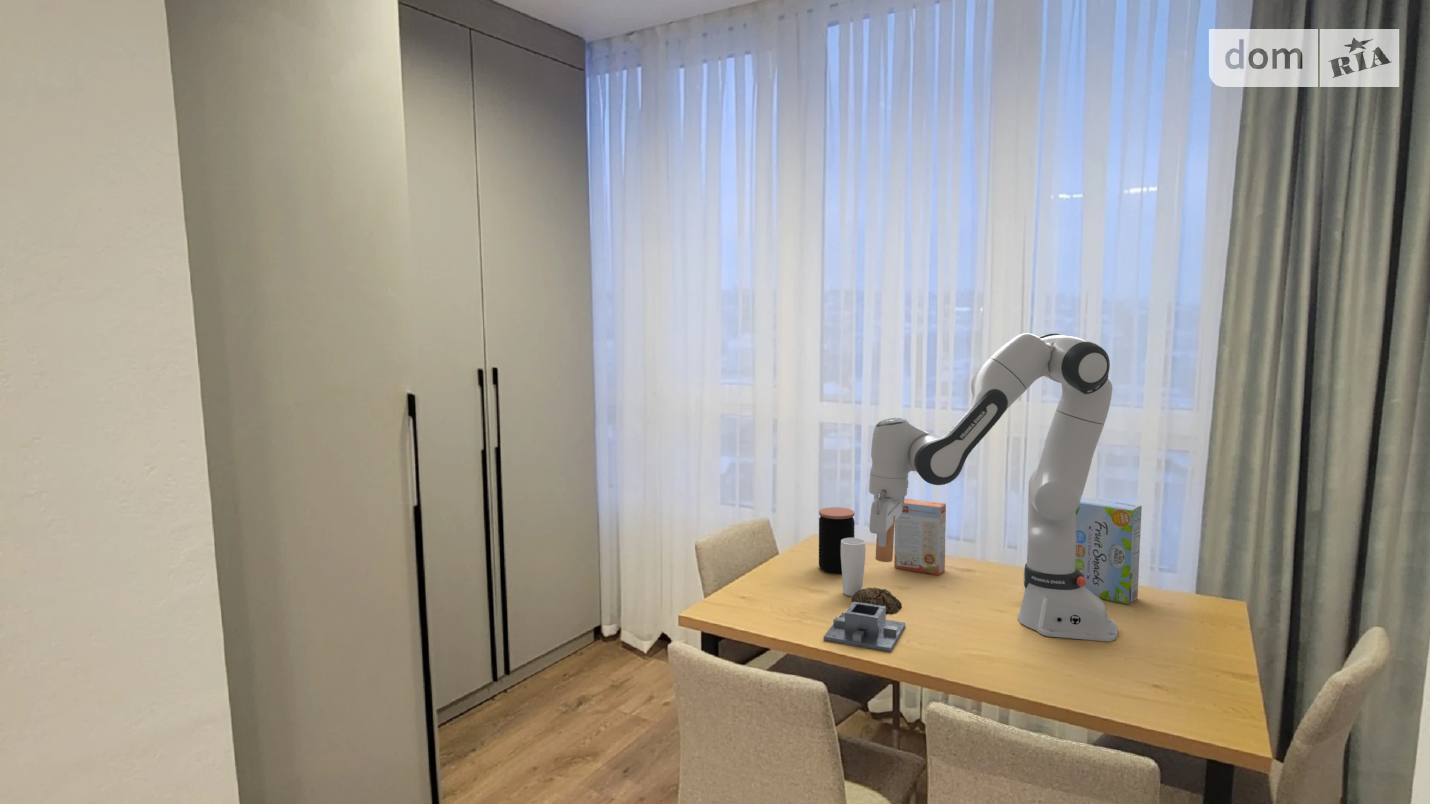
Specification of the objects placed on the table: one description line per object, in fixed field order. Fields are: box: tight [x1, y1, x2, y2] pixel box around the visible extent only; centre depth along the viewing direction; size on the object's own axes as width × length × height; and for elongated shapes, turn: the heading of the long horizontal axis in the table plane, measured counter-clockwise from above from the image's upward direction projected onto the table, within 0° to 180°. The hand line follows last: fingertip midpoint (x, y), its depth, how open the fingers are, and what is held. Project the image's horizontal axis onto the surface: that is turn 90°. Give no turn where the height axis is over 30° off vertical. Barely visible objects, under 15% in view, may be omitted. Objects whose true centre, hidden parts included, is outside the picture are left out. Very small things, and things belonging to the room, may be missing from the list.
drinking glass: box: [841, 537, 866, 597], centre depth 213 cm, size 7×7×15 cm
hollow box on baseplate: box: [823, 602, 906, 653], centre depth 187 cm, size 16×16×6 cm
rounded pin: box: [875, 516, 895, 563], centre depth 184 cm, size 4×4×11 cm
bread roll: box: [850, 587, 903, 614], centre depth 205 cm, size 13×12×5 cm
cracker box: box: [893, 498, 947, 576], centre depth 232 cm, size 14×6×21 cm, turn 56°
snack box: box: [1075, 497, 1143, 605], centre depth 211 cm, size 22×9×26 cm, turn 46°
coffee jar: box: [818, 506, 855, 575], centre depth 233 cm, size 11×11×18 cm
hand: (885, 542), depth 184 cm, fingers closed on rounded pin, 4 cm apart
